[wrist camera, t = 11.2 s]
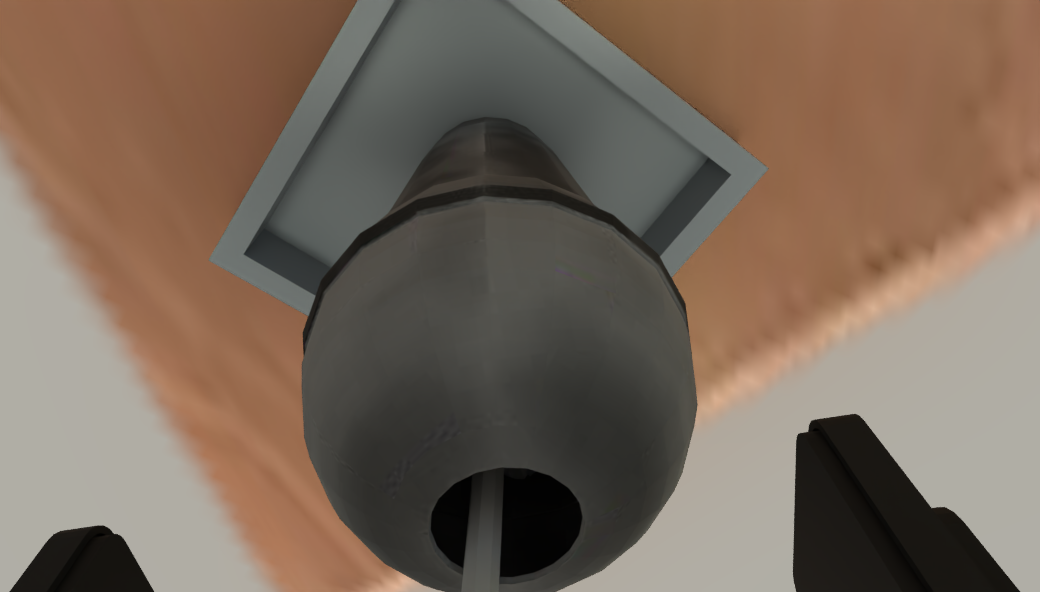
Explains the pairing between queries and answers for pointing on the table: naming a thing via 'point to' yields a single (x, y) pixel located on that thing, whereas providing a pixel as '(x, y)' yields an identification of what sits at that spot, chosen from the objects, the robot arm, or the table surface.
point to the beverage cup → (497, 374)
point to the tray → (467, 96)
